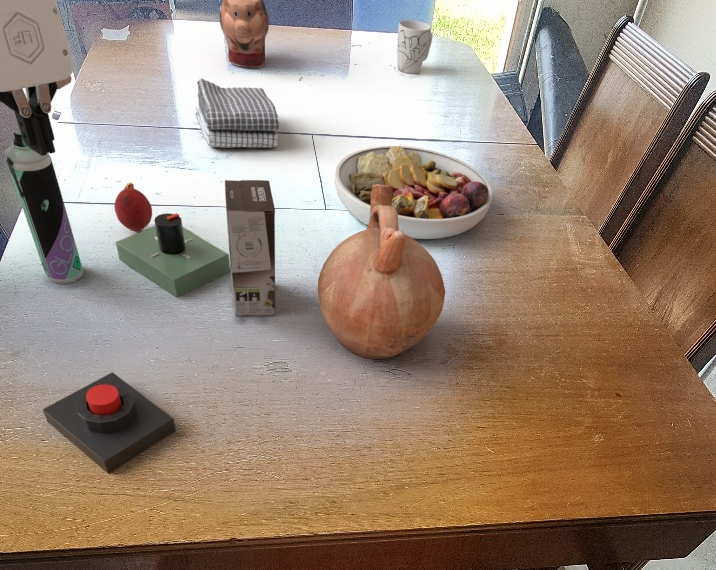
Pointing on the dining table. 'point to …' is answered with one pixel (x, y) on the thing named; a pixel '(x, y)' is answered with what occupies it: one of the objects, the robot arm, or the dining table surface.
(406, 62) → the mug
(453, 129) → the dining table surface
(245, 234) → the coffee box
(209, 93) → the towel
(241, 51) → the pig figurine
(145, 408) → the button block
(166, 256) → the dial panel
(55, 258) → the spray can
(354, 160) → the bowl
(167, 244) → the dial
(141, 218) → the red oval fruit
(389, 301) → the jug
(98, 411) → the button
